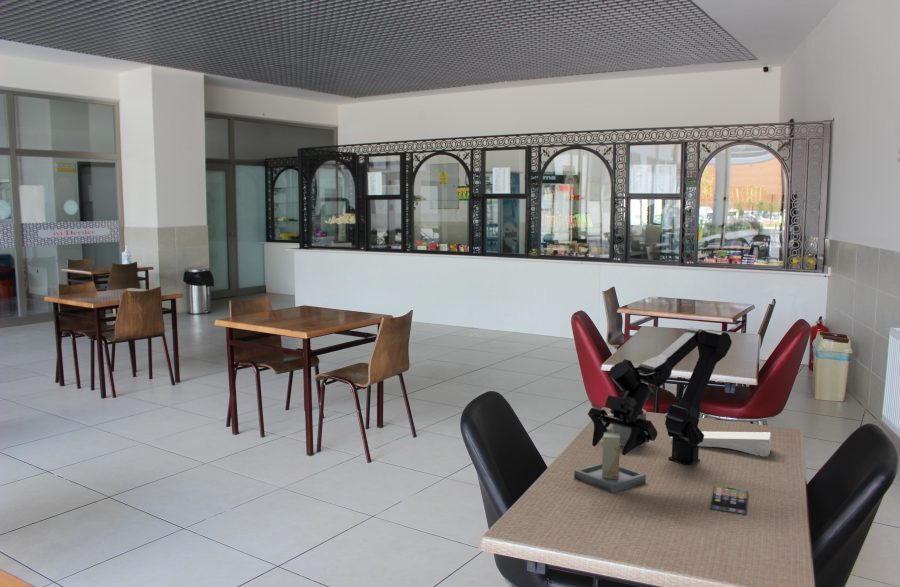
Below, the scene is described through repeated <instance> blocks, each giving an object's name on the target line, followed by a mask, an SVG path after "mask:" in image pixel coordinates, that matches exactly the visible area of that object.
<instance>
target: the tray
mask: <svg viewBox="0 0 900 587" xmlns="http://www.w3.org/2000/svg"><path fill="white" fill-rule="evenodd" d="M573 472H574V473H573V474H574V475H573V477H575V478H574V479H576V478H577V480H579V479H580V480H579V481H582V482H584V481H585V483H587V484H589V483H590V485H592V486H595V487H598V488H600V489H601V490H604V491H607V492H610V493H612V494H614V493H616V492H620V491H623V490H625V489H629V488H632V487H635V486H638V485H641V484H643V483H646V479H647V476H646V475H647V474H646V473H642V472H639V471H637V470H633V469H631V468H628V467H625V466H622V465H620V464H619V479H608V478H602V462H599V463H594V464H592V465H588V466H585V467H581V468H578V469H574V471H573Z"/></svg>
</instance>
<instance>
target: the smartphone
mask: <svg viewBox="0 0 900 587" xmlns="http://www.w3.org/2000/svg"><path fill="white" fill-rule="evenodd" d="M748 494H749V493H748V490H746V489H745V490H743V489H739V488H738V489H736V488H733V487H732V488H731V487H724V486H717V485H716V486H715V485H714V486H713V488H712V495H711V502H710V507H709V510H711V511H716V510H717V511H718V512H723V513H730V514H734V513H735V514H736V515H740V514H742V515H741V516H746V515H748V496H749V495H748Z"/></svg>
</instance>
